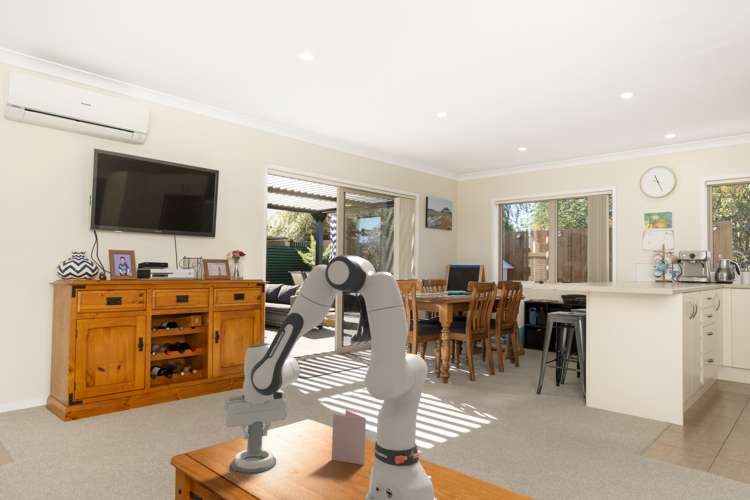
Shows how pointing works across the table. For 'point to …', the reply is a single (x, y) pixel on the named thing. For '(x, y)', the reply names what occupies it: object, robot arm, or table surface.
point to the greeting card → (348, 438)
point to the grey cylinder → (255, 438)
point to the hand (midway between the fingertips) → (255, 437)
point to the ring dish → (254, 458)
